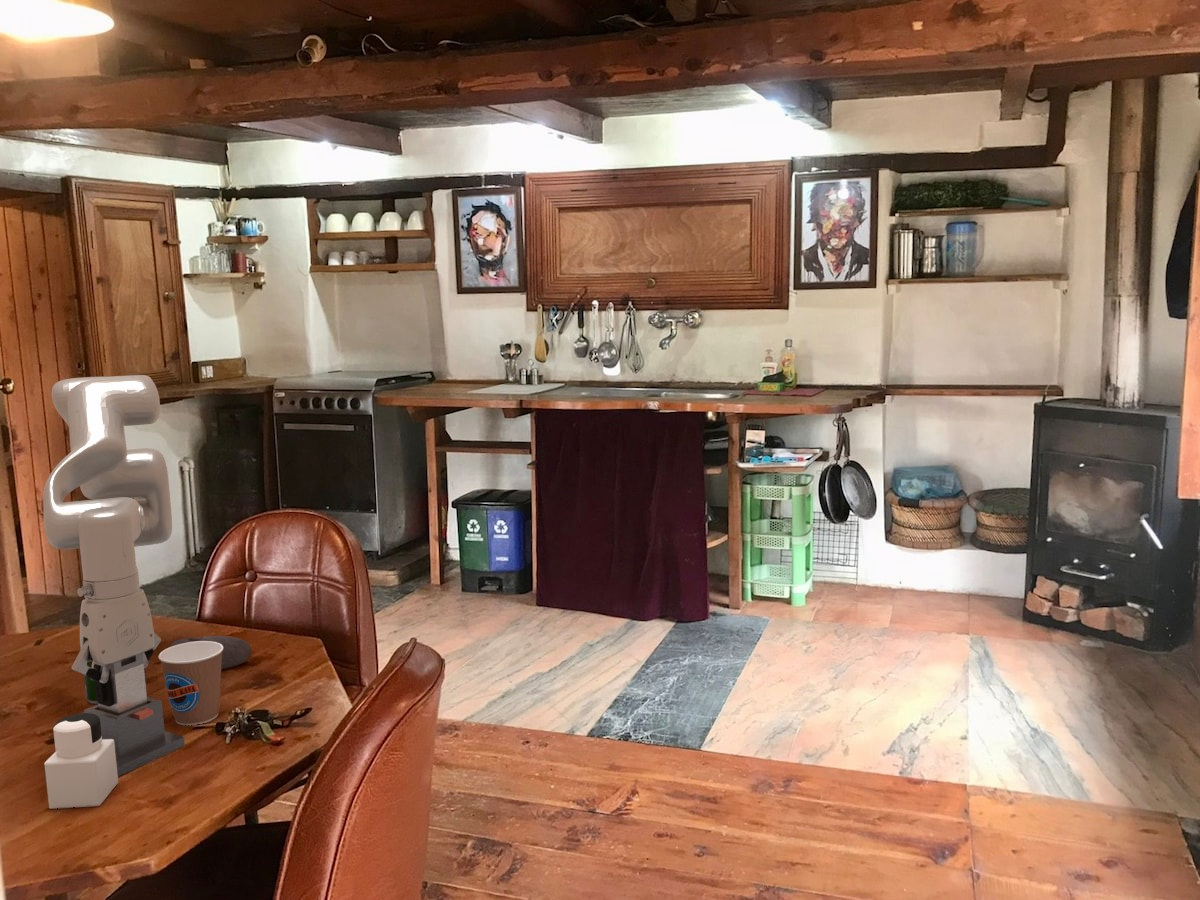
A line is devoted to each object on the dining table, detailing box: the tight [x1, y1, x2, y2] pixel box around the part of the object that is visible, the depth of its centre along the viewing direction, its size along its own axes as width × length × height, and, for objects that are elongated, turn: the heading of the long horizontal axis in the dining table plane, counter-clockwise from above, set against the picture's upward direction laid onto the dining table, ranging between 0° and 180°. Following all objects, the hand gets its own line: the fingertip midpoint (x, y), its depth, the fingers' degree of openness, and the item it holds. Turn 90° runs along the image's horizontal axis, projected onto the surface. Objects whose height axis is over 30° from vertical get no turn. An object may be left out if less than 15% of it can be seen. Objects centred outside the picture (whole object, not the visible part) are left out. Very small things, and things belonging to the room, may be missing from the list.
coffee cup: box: [158, 641, 223, 727], centre depth 173 cm, size 10×10×12 cm
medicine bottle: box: [43, 712, 119, 810], centre depth 146 cm, size 7×7×12 cm
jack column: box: [97, 653, 148, 716], centre depth 160 cm, size 5×5×15 cm
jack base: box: [83, 696, 186, 778], centre depth 160 cm, size 12×12×8 cm
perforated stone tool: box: [170, 635, 252, 670], centre depth 196 cm, size 15×5×7 cm, turn 112°
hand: (122, 696), depth 159 cm, fingers closed on jack column, 5 cm apart
